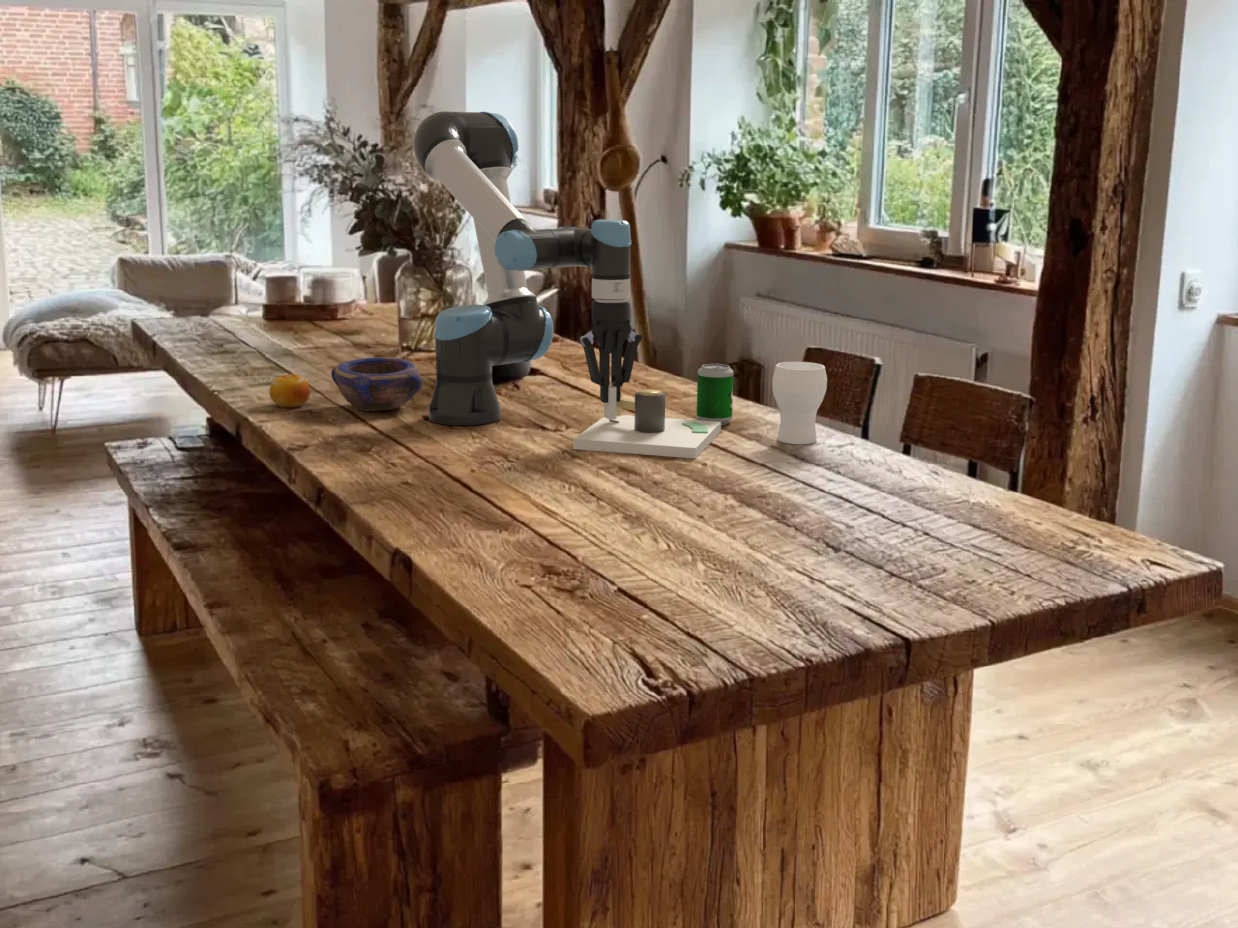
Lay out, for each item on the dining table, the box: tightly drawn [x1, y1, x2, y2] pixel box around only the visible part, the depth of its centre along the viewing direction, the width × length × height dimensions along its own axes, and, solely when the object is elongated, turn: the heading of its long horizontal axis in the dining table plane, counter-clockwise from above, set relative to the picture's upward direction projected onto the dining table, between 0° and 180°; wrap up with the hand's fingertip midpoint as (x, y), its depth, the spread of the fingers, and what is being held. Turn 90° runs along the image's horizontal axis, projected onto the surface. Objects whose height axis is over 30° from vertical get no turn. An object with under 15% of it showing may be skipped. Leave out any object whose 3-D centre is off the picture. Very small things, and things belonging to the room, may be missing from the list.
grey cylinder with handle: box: [616, 389, 666, 432], centre depth 255 cm, size 14×6×7 cm, turn 45°
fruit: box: [269, 374, 311, 408], centre depth 281 cm, size 8×8×8 cm
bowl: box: [330, 356, 424, 412], centre depth 279 cm, size 18×18×10 cm
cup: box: [771, 361, 828, 445], centre depth 253 cm, size 11×11×15 cm
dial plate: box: [572, 414, 722, 459], centre depth 253 cm, size 24×24×2 cm
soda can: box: [696, 363, 735, 426], centre depth 269 cm, size 8×8×12 cm
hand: (610, 417), depth 257 cm, fingers closed
